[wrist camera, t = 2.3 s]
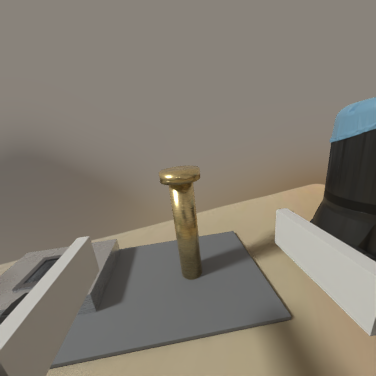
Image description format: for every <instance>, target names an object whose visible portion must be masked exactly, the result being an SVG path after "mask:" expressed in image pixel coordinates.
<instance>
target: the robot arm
mask: <svg viewBox="0 0 376 376" xmlns="http://www.w3.org/2000/svg"><path fill="white" fill-rule="evenodd" d="M330 142H331V149H330V157H329V164H328V170H327V177H326V184H325V191H324V198H323V201H322V202H321V204H320V206H319V207H318V209H317V211H316V213H315V215H314V217H313V219H312V220H311V221H310V222H309V221H307V220H305V219H304V218H302V217H300V216H299V215H297V214H295V213H294V212H292V211H290V210H289V209H287V208H285V209H277V211H276V228H275V243H276V244H277V245H278V246H279V247H280V248H281V249H282V250H283V251H284V252H285V253H286V254H287V255H288V256H289V257H290V258H291V259H292V260H293V261H294V262H295V263H296V264H297V265H298V266H299V267H300V268H301V269H302V270H303V271H304V272H305V273H306V274H307V275H308V276H309V277H310V278H311V279H312V280H313V281H314V282H315V283H316V284H318V285H319V286H320V287H321V288H322V289H323V290H324V291H325V292H326V293H327V294H328V295H329V296H330V297H331V298H332V299H333V300H334V301H335V302H336V303H337V304H338V305H339V306H340V307H341V308H342V309H343V310H344V311H345V312H346V313H347V314H348V315H349V316H350V317H351V318H352V319H353V320H354V321H355V322H356V323H357V324H358V325H359V326H360V327H361V328H362V329H363V330H364V331H365V332H366V333H367V334H368V335H369V336H373V335H376V97H374V98H370V99H367V100H363V101H360V102H356V103H353V104H351V105H349V106H347V107H345V108H343V109H342V110H341V111H340V112H339V113H338V115H337V116H336V119H335V124H334V129H333V134H332V138H331V139H330ZM98 272H99V266H98V263H97V260H96V256H95V253H94V250H93V246H92V243H91V240H90V237H89V236H88V237H81V238H77V239H76V240H75V241H74V242H73V244H72V245H71V246H70V247H69V248H68V249H67V250H66V251H65V253H64V254H63V255H62V256H61V257H60V258H59V259H58V260H57V262H56V263H55V264H54V265H53V266H52V267H51V268H50V269H49V271H48V272H47V273H46V274H45V275H44V276H43V277H42V278H41V280H40V281H39V282H38V283H37V284H36V285H35V286H34V287H33V289H32V290H31V291H30V292H28V293H24V294H23V295H22V296H21V297H19V298H18V299H17V300H15V301H14V302H13V303H11V304H10V306H9V307H8V308H7V309H6V310H5V311H4V312H3V313H2V314H1V316H0V376H46V374H47V372H48V370H49V368H50V366H51V364H52V362H53V361H54V359H55V357H56V355H57V353H58V351H59V349H60V347H61V345H62V343H63V341H64V339H65V337H66V335H67V333H68V331H69V329H70V327H71V325H72V323H73V321H74V319H75V317H76V315H77V313H78V311H79V309H80V308H81V306H82V304H83V302H84V300H85V298H86V296H87V294H88V292H89V290H90V288H91V286H92V284H93V282H94V280H95V278H96V276H97V274H98Z"/></svg>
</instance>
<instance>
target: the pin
mask: <svg viewBox="0 0 376 376" xmlns="http://www.w3.org/2000/svg"><path fill="white" fill-rule="evenodd" d="M159 177H160V183H161V184H164V185H169V191H170V197H171V204H172V211H173V217H174V224H175V231H176V238H177V245H178V251H179V258H180V265H181V272H182V276H183V277H184V278H186V279H189V280H194V279H197V278H198V277H200V276H201V274H202V265H201V255H200V245H199V236H198V226H197V216H196V207H195V199H194V188H193V182H195V181H197V180H198V179H200V170H199V167H197V166H178V167H172V168H167V169H164V170H161V171H160V172H159Z"/></svg>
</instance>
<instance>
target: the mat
mask: <svg viewBox="0 0 376 376" xmlns="http://www.w3.org/2000/svg"><path fill="white" fill-rule="evenodd" d="M199 245H200V255H201V265H202V274H201V276H200V277H198V278H197V279H194V280H189V279H186V278H184V277H183V276H182V272H181V265H180V258H179V251H178V245H177V240H175V241H169V242H163V243H156V244H150V245H144V246H138V247H131V248H125V249H120V255H119V257H118V260H117V262H116V265H115V267H114V270H113V272H112V275H111V277H110V280H109V282H108V285H107V287H106V290H105V292H104V295H103V297H102V300H101V302H100V305H99V307H98V310H97V312H94V313H89V314H83V315H78V316H76V317H75V319H74V321H73V323H72V325H71V327H70V329H69V331H68V333H67V335H66V337H65V339H64V341H63V343H62V345H61V347H60V349H59V351H58V353H57V355H56V357H55V359H54V361H53V362H52V364H51V366H50V368H49V369H52V368H56V367H61V366H66V365H71V364H76V363H81V362H86V361H91V360H96V359H100V358H105V357H110V356H115V355H120V354H125V353H130V352H135V351H139V350H144V349H149V348H154V347H159V346H164V345H169V344H174V343H179V342H183V341H188V340H193V339H198V338H203V337H208V336H213V335H218V334H222V333H227V332H232V331H237V330H242V329H247V328H252V327H257V326H262V325H266V324H271V323H276V322H281V321H286V320H291V315H290V314H289V312H288V311H287V309H286V308H285V306H284V305H283V303H282V302H281V301H280V299H279V298H278V296H277V295H276V293H275V292H274V290H273V289H272V287H271V286H270V284H269V283H268V281H267V280H266V279H265V277H264V276H263V274H262V273H261V271H260V270H259V268H258V267H257V265H256V264H255V262H254V261H253V259H252V258H251V256H250V255H249V254H248V252H247V251H246V249H245V248H244V246H243V245H242V243H241V242H240V240H239V239H238V237H237V236H236V234H235V233H234V232H233V231H231V232H225V233H219V234H212V235H206V236H200V237H199Z"/></svg>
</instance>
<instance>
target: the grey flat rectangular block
mask: <svg viewBox="0 0 376 376" xmlns="http://www.w3.org/2000/svg"><path fill="white" fill-rule="evenodd" d="M92 246H93V250H94V253H95V256H96V260H97V263H98V266H99V272H98V274H97V276H96V278H95V280H94V282H93V284H92V286H91V288H90V290H89V292H88V294H87V296H86V298H85V300H84V302H83V304H82V306H81V308H80V309H79V311H78V313H77V315H76V316H78V315H83V314H89V313H94V312H97V310H98V307H99V305H100V302H101V300H102V297H103V295H104V292H105V290H106V287H107V285H108V282H109V280H110V277H111V275H112V272H113V270H114V267H115V265H116V262H117V260H118V257H119V255H120V249H119V245H118V242H117V239H114V240H107V241H101V242H95V243H92ZM69 247H70V246H69ZM69 247H63V248H56V249H50V250H44V251H37V252H31V253H27V254H26V255H24V256H23V257H22V258H21V259H20V260H18V261H17V262H16V263H15V264H14V265H13V266H11V267H10V268H9V269H8V270H7V271H5V272H4V273H3V274H2V275H1V276H0V316H1V314H2V313H3V312H4V311H5V310H6V309H7V308H8V307H9V306H10V304H11V303H13V302H14V301H15V300H17V299H18V298H19V297H21V296H22V295H23V294H24V293H28V292H30V291H31V290H32V289H33V287H34V286H35V285H36V284H37V283H38V282H39V281H40V280H41V278H42V277H43V276H44V275H45V274H46V273H47V272H48V271H49V269H50V268H51V267H52V266H53V265H54V264H55V263H56V262H57V260H58V259H59V258H60V257H61V256H62V255H63V254H64V253H65V251H66V250H67V249H68V248H69Z"/></svg>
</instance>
